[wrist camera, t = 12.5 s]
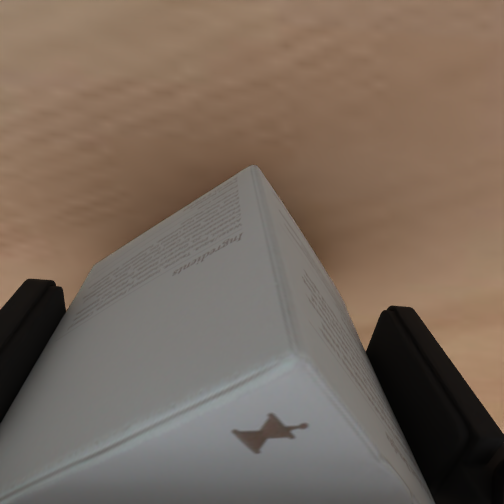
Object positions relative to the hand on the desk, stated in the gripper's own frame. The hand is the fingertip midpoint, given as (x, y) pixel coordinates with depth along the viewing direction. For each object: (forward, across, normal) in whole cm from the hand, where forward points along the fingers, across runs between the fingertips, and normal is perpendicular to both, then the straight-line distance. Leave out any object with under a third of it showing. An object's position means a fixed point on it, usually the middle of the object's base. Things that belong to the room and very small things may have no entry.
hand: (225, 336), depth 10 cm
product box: (+3, 0, 0) cm, 3 cm away
